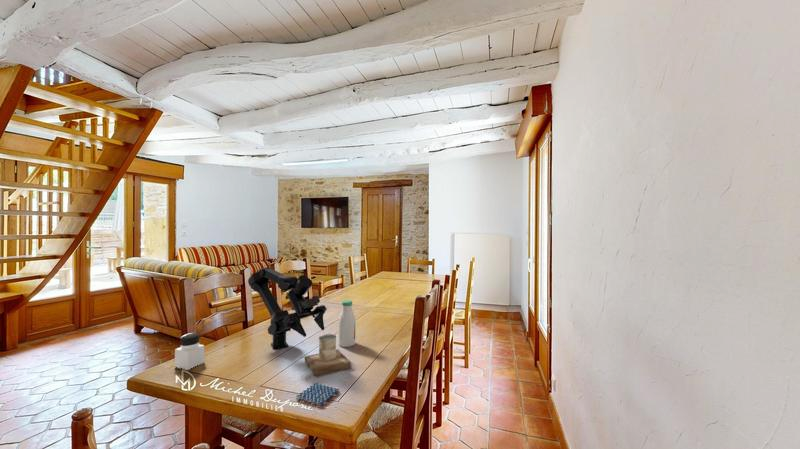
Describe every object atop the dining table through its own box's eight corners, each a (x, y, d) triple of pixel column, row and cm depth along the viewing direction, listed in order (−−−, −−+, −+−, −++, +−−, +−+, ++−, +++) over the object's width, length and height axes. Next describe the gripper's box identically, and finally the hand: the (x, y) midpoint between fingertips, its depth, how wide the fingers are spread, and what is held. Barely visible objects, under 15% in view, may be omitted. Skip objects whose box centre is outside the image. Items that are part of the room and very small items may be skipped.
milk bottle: (351, 348, 143) (352, 303, 142) (335, 346, 144) (336, 302, 144) (357, 341, 150) (357, 299, 150) (342, 340, 152) (342, 298, 152)
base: (304, 362, 128) (304, 356, 128) (337, 355, 135) (337, 348, 135) (315, 377, 116) (315, 370, 116) (350, 368, 124) (350, 361, 124)
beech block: (319, 359, 125) (319, 336, 125) (328, 355, 129) (329, 333, 129) (326, 362, 122) (326, 339, 122) (335, 357, 127) (336, 335, 126)
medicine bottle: (204, 362, 127) (205, 332, 127) (187, 370, 120) (187, 339, 120) (191, 359, 129) (191, 330, 129) (174, 367, 123) (174, 336, 122)
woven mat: (321, 411, 97) (321, 404, 97) (294, 402, 101) (294, 396, 101) (341, 394, 106) (341, 388, 106) (316, 386, 110) (316, 381, 110)
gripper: (287, 294, 125) (305, 328, 119) (324, 286, 140) (341, 316, 134) (275, 310, 130) (291, 344, 124) (312, 301, 145) (328, 330, 139)
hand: (314, 332), depth 130 cm, fingers open, 9 cm apart
